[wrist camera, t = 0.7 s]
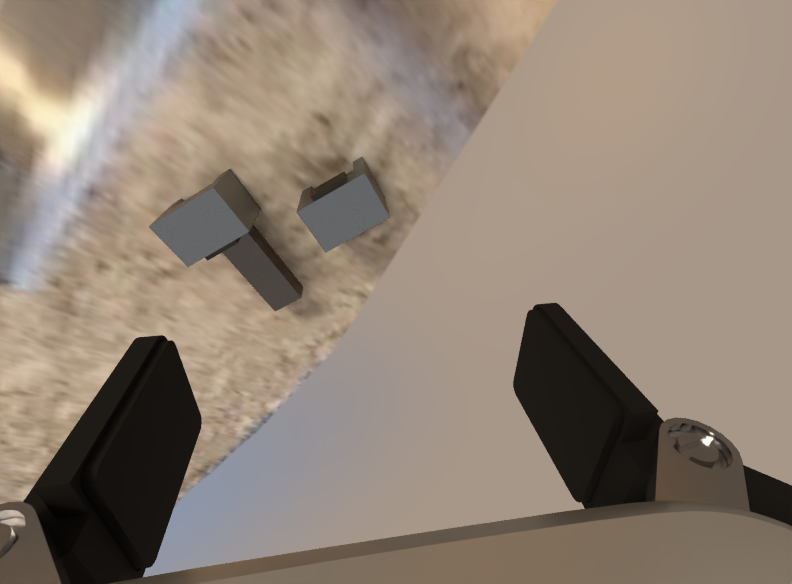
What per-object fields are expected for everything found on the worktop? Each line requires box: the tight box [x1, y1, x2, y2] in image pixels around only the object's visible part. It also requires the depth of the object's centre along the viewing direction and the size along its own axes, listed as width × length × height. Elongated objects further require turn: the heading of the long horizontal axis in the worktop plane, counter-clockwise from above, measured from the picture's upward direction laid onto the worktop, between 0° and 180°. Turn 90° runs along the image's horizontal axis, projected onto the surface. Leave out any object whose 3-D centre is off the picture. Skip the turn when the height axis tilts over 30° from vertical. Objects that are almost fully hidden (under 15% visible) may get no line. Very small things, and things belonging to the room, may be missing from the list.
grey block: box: [297, 157, 390, 253], centre depth 33 cm, size 6×4×5 cm
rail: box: [149, 169, 303, 311], centre depth 34 cm, size 6×12×5 cm, turn 28°
